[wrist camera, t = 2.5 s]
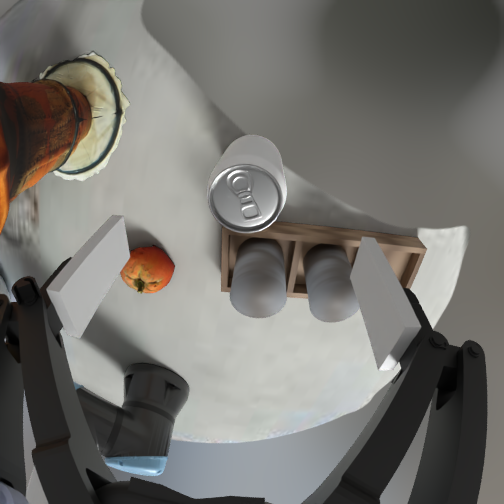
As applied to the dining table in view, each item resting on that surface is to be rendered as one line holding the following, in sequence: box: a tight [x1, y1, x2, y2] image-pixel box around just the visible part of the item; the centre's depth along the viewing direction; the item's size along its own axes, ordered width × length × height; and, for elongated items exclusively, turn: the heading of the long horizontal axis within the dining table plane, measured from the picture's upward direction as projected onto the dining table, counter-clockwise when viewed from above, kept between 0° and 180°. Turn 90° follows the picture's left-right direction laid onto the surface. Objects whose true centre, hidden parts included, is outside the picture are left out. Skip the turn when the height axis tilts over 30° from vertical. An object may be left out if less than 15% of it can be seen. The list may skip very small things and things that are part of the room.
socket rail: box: [221, 221, 427, 322], centre depth 34 cm, size 27×9×9 cm, turn 86°
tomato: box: [120, 245, 175, 294], centre depth 39 cm, size 8×7×7 cm
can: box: [207, 134, 287, 233], centre depth 26 cm, size 6×6×12 cm
